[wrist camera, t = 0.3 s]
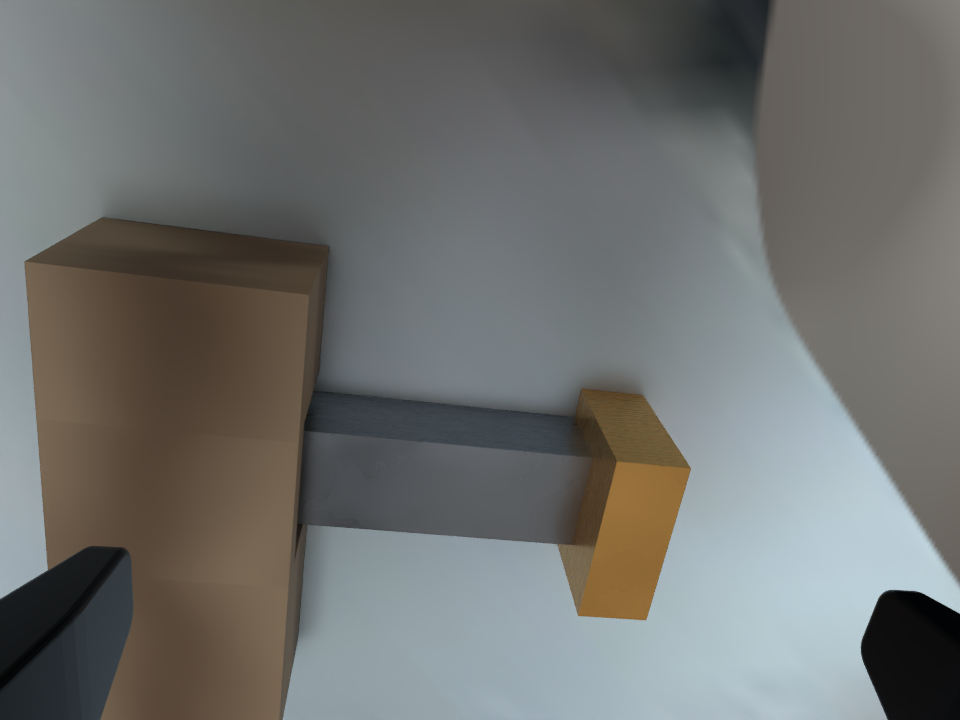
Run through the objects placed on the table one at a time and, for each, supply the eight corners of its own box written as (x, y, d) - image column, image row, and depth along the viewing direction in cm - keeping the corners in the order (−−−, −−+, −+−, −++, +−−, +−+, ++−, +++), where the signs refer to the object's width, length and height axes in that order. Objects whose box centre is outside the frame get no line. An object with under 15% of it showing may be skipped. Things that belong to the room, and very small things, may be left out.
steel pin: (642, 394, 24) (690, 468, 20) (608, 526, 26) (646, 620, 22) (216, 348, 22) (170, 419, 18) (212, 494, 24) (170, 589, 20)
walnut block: (329, 246, 21) (309, 295, 17) (298, 638, 26) (277, 746, 22) (102, 217, 20) (24, 261, 16) (116, 627, 25) (60, 738, 21)
